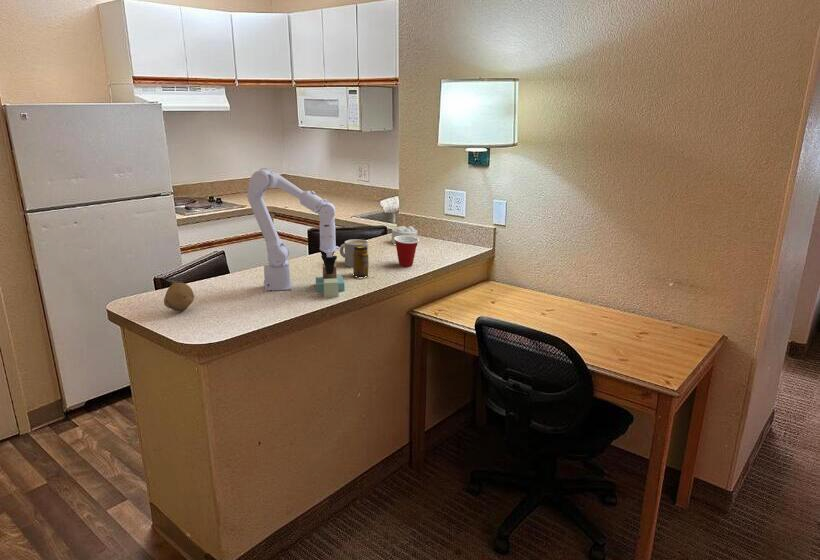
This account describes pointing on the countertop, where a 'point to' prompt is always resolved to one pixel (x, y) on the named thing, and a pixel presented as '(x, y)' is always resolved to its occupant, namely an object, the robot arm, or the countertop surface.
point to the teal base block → (321, 287)
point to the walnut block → (329, 276)
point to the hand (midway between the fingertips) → (328, 271)
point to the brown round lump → (179, 297)
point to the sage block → (331, 287)
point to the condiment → (360, 262)
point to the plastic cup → (406, 249)
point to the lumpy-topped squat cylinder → (403, 232)
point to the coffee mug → (351, 250)
